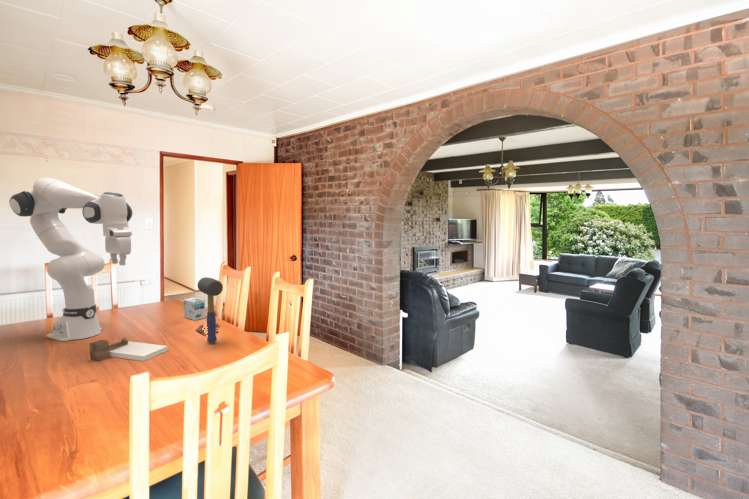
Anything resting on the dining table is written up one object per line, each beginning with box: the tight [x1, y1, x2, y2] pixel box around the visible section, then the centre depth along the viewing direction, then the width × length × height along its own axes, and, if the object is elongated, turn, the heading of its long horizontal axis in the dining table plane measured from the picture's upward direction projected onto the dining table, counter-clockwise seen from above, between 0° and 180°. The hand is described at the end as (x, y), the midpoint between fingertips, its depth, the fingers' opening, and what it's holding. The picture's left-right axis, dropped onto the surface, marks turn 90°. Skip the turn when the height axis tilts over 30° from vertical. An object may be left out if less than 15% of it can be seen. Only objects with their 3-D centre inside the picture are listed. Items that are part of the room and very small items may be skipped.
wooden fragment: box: [195, 323, 220, 337], centre depth 192 cm, size 26×11×1 cm, turn 21°
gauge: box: [88, 337, 129, 362], centre depth 155 cm, size 4×14×7 cm, turn 165°
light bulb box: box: [183, 297, 207, 321], centre depth 210 cm, size 11×7×11 cm, turn 58°
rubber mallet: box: [197, 276, 224, 345], centre depth 168 cm, size 12×8×30 cm, turn 46°
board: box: [109, 340, 169, 362], centre depth 158 cm, size 22×12×2 cm, turn 75°
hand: (118, 264), depth 157 cm, fingers open, 8 cm apart
